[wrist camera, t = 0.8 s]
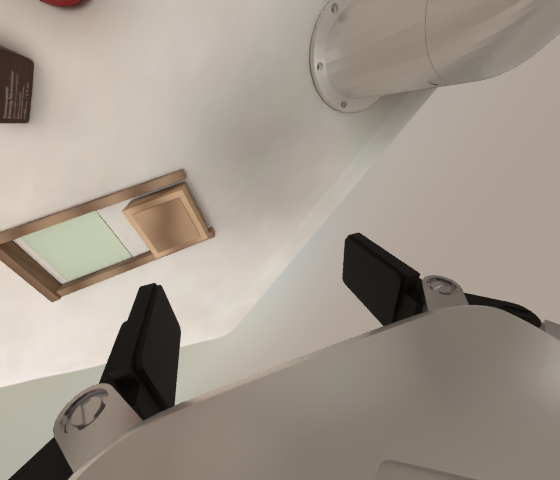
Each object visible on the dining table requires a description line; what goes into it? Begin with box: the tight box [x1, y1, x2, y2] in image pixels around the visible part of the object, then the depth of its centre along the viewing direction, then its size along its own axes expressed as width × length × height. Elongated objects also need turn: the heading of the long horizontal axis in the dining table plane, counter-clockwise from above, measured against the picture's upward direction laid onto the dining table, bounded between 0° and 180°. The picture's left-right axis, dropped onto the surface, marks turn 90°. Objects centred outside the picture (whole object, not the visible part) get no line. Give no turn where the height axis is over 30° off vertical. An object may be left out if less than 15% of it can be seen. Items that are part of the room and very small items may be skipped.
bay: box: [0, 169, 215, 302], centre depth 29 cm, size 23×10×2 cm, turn 106°
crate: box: [122, 182, 208, 258], centre depth 29 cm, size 7×7×4 cm
